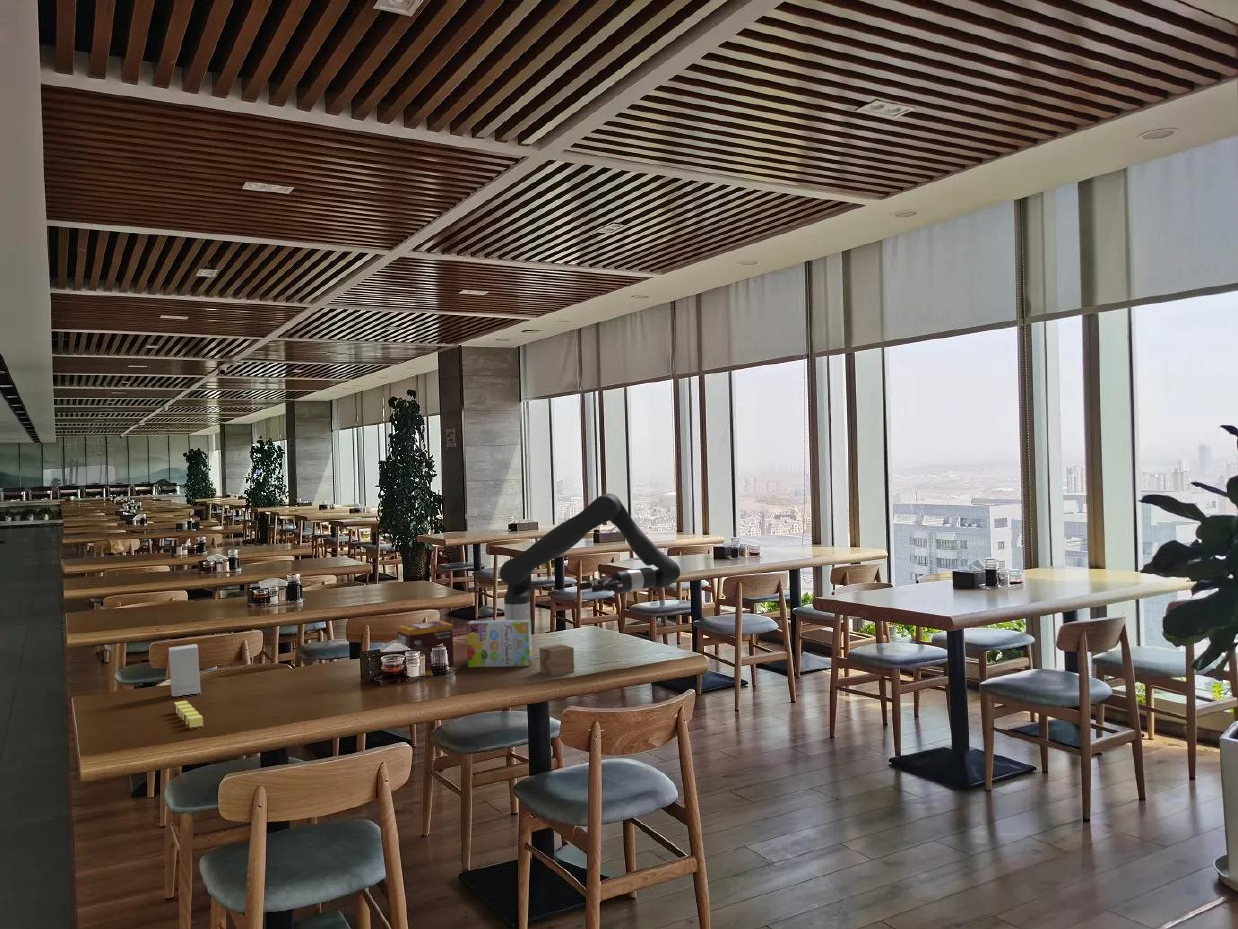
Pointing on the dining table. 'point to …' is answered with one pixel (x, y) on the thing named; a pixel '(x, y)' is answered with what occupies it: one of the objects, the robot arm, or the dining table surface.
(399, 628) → the supplement box
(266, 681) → the dining table surface
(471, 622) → the snack box
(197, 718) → the yellow segmented bar
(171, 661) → the skincare box
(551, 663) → the walnut cube
